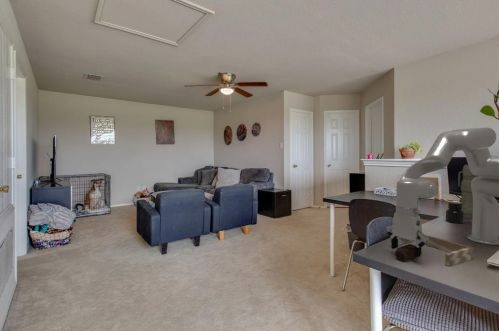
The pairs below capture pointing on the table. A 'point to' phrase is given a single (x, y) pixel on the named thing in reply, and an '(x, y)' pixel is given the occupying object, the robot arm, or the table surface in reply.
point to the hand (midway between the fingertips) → (405, 252)
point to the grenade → (466, 191)
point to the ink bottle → (455, 213)
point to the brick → (405, 253)
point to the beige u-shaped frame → (447, 249)
